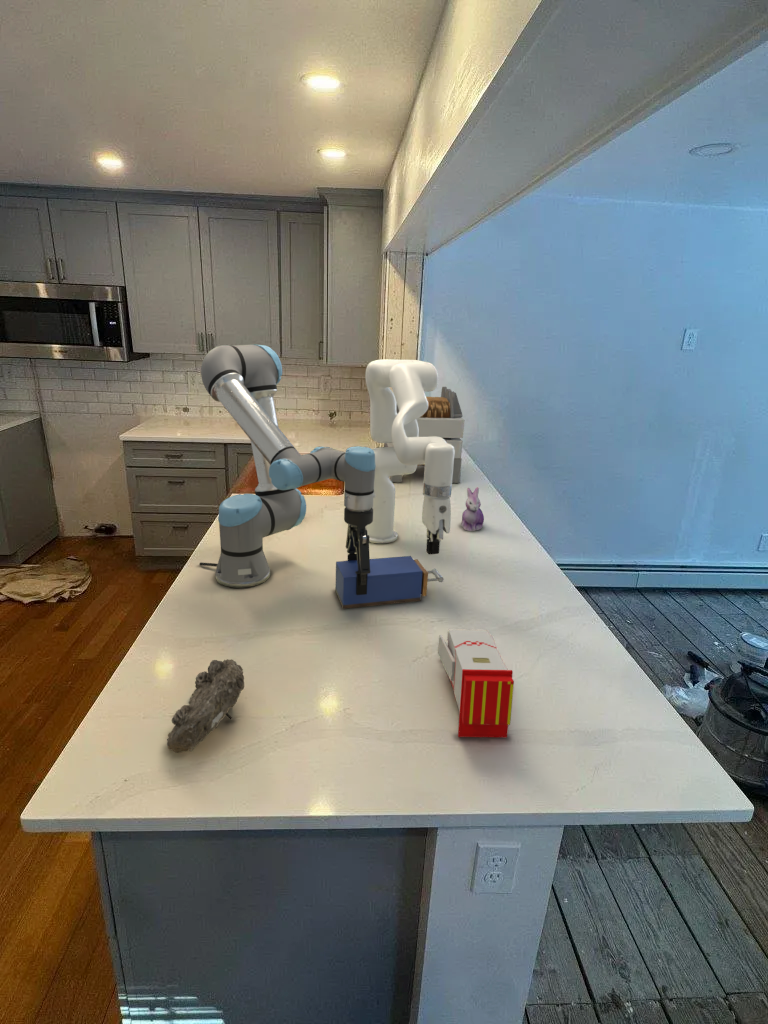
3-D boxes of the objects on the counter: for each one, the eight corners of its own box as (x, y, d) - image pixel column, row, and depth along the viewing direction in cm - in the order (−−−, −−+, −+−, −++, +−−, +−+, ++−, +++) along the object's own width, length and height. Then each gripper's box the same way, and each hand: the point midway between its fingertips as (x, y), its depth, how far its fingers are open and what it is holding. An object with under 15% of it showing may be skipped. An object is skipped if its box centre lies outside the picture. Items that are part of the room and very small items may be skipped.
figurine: (469, 533, 203) (473, 493, 198) (453, 523, 211) (457, 485, 206) (490, 530, 207) (495, 490, 202) (474, 520, 215) (478, 482, 210)
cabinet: (408, 584, 164) (410, 555, 161) (420, 600, 155) (422, 571, 152) (335, 590, 158) (335, 561, 155) (342, 608, 149) (343, 578, 146)
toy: (488, 613, 130) (523, 677, 101) (484, 667, 133) (517, 744, 104) (435, 612, 130) (455, 676, 101) (432, 666, 133) (451, 743, 103)
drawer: (433, 579, 165) (435, 557, 163) (444, 594, 157) (447, 571, 154) (347, 587, 158) (347, 564, 156) (354, 603, 150) (354, 579, 148)
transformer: (382, 463, 289) (386, 382, 275) (445, 464, 293) (451, 384, 279) (390, 482, 257) (394, 392, 243) (460, 483, 261) (468, 394, 247)
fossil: (192, 660, 117) (244, 628, 112) (224, 691, 120) (276, 661, 115) (142, 746, 98) (202, 712, 93) (182, 779, 101) (242, 748, 96)
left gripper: (385, 522, 137) (381, 603, 144) (362, 493, 157) (360, 565, 165) (354, 523, 135) (352, 606, 142) (335, 494, 155) (334, 567, 163)
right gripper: (461, 497, 144) (455, 563, 151) (440, 481, 158) (435, 541, 164) (433, 499, 142) (429, 565, 149) (414, 482, 156) (410, 543, 162)
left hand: (356, 584), depth 153 cm, fingers closed on cabinet, 10 cm apart
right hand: (432, 552), depth 156 cm, fingers closed
